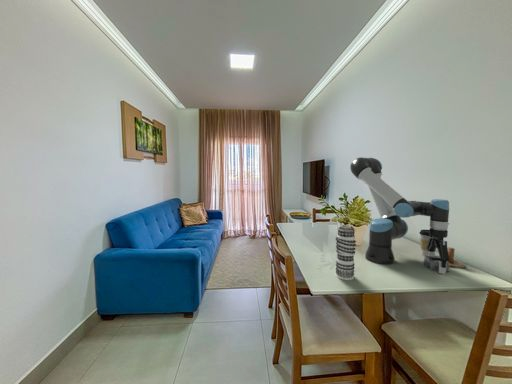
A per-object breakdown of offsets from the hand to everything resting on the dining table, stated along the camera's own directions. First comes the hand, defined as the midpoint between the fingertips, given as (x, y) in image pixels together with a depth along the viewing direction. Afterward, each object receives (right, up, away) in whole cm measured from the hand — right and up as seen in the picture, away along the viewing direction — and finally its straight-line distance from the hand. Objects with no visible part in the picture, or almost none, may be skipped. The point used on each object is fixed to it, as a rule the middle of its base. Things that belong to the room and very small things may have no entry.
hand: (436, 268), depth 123 cm
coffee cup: (+10, +1, +20) cm, 23 cm away
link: (0, 0, 0) cm, 0 cm away
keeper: (+12, 0, +6) cm, 13 cm away
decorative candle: (-53, -1, -9) cm, 53 cm away
